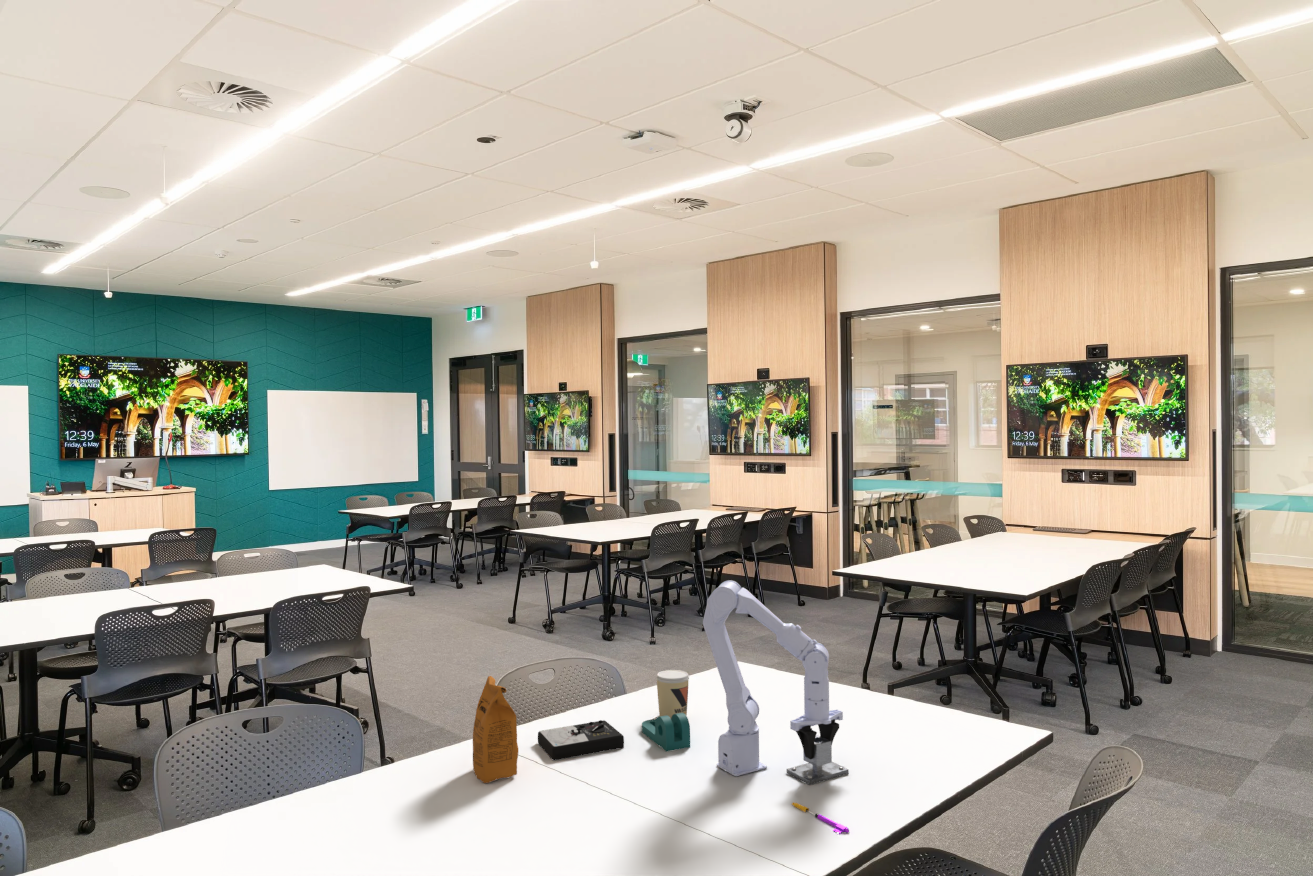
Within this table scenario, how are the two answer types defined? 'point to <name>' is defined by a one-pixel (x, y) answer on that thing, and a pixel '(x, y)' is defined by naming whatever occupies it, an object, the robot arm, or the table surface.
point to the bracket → (668, 731)
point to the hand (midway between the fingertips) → (817, 755)
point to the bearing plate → (817, 772)
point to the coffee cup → (672, 692)
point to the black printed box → (580, 740)
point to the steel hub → (820, 752)
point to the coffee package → (494, 735)
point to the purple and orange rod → (823, 819)
